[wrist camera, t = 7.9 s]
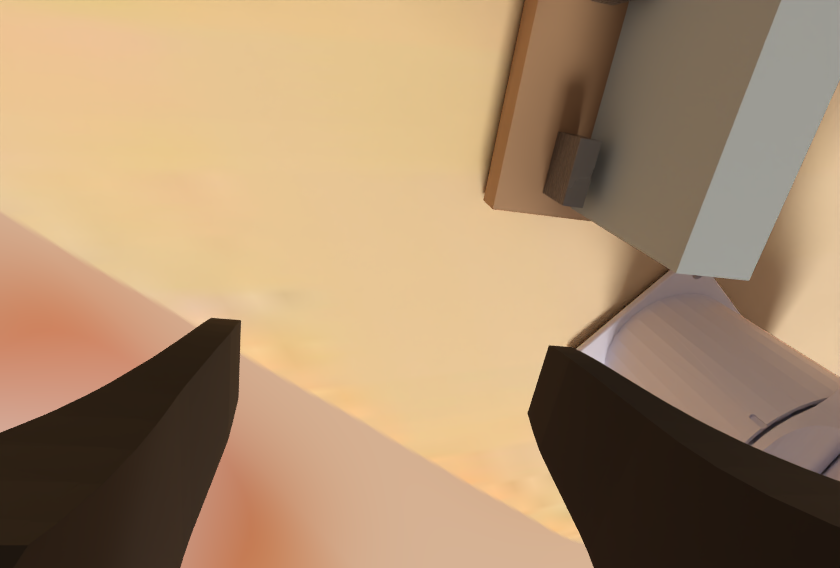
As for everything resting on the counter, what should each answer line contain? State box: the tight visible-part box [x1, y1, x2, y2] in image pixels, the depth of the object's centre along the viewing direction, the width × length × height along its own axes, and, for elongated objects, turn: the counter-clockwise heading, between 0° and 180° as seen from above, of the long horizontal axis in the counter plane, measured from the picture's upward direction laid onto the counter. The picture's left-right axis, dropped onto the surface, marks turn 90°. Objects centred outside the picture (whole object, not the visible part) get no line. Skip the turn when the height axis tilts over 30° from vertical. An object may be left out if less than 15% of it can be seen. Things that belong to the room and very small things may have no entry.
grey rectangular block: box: [571, 0, 840, 281], centre depth 15 cm, size 3×10×7 cm, turn 171°
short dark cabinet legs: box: [543, 0, 633, 208], centre depth 17 cm, size 5×9×2 cm, turn 171°
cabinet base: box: [484, 0, 629, 221], centre depth 19 cm, size 9×12×2 cm
